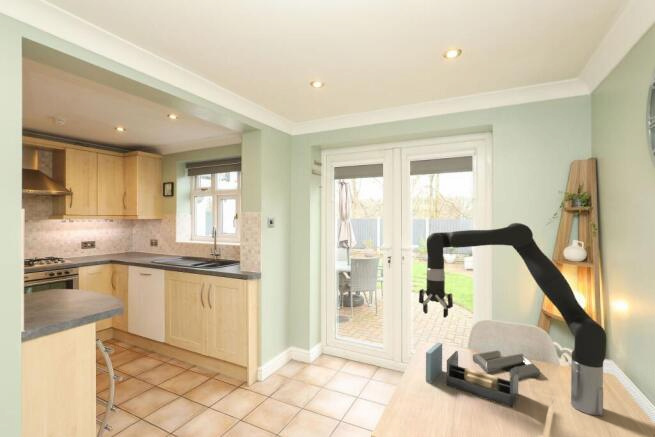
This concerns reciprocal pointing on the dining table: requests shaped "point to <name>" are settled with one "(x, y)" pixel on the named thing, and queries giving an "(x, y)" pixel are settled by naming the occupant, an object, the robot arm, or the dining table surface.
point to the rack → (503, 395)
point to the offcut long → (483, 375)
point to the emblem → (506, 364)
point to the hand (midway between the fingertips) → (435, 315)
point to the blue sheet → (433, 362)
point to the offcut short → (479, 381)
